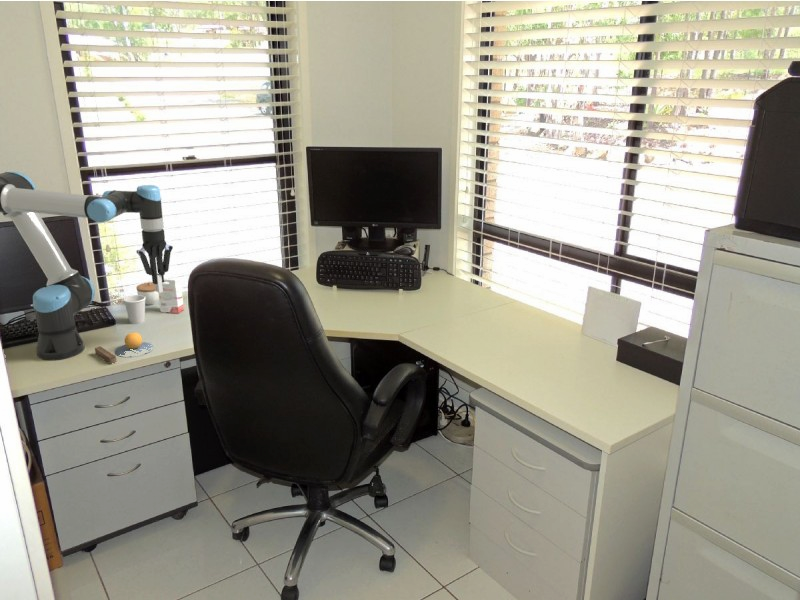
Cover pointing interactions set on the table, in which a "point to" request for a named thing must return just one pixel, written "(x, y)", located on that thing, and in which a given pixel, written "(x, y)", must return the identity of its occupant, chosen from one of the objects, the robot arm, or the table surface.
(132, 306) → the dixie cup
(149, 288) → the lidded jar
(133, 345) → the ball
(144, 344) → the slate mark
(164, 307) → the ink cartridge box
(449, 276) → the table surface
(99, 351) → the strip
